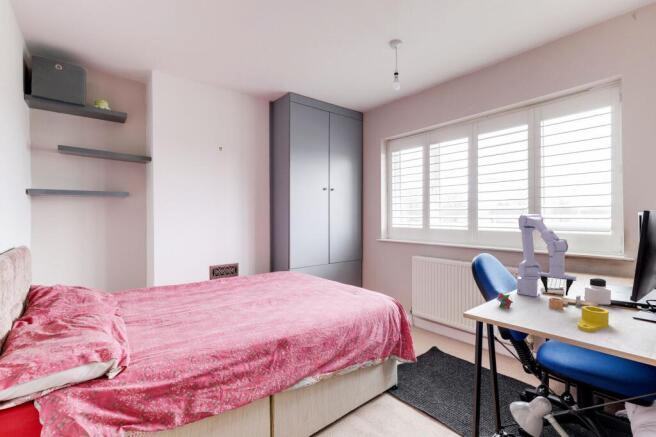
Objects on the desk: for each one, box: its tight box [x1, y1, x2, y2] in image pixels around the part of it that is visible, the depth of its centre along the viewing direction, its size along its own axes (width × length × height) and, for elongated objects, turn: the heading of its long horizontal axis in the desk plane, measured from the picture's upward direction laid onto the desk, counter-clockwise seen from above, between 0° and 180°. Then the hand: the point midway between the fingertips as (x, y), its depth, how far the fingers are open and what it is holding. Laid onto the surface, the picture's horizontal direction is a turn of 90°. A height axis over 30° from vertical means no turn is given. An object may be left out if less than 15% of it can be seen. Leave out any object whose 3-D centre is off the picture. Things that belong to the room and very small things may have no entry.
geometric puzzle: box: [496, 292, 514, 309], centre depth 146 cm, size 7×7×8 cm
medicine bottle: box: [584, 277, 612, 305], centre depth 152 cm, size 7×7×12 cm
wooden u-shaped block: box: [560, 296, 599, 307], centre depth 148 cm, size 14×12×1 cm
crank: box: [577, 306, 610, 333], centre depth 123 cm, size 18×8×6 cm, turn 125°
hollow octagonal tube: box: [548, 297, 564, 310], centre depth 145 cm, size 5×5×4 cm
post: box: [573, 295, 582, 309], centre depth 145 cm, size 3×3×6 cm
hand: (556, 293), depth 144 cm, fingers open, 7 cm apart
